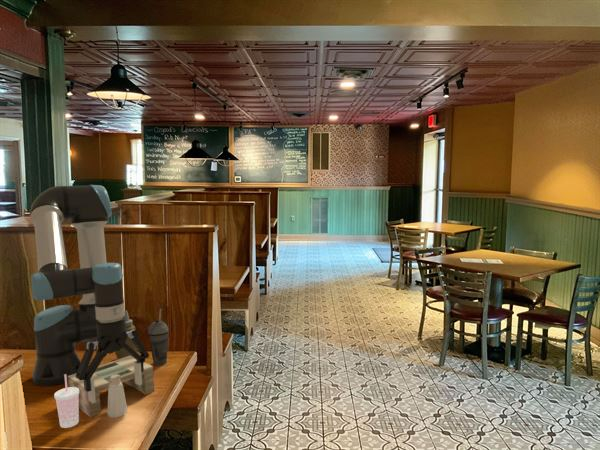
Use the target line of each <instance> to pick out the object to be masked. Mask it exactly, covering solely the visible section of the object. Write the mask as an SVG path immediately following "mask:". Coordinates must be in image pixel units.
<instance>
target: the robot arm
mask: <svg viewBox="0 0 600 450" xmlns="http://www.w3.org/2000/svg"><path fill="white" fill-rule="evenodd" d="M112 215H113V213H112V205H111V200H110V196H109V194H108V191H107V189H106V188H105V187H104V186H103V185H99V184H85V185H83V184H82V185H81V184H79V185H57V186H51V187H50V188H47V189H46V190H44V191H43V192H41V193H39V195H38V196H37V197H35V199H34V200H33V202H32V204H31V207H30V209H29V220H30V223H31V224H32V225H33V226H34V235H35V237H34V238H35V247H36V248H35V249H36V259H37V260H36V262H37V271H38V272H36V273H32V274H31V277H30V283H31V284H30V285H31V293H32V294H31V295H32V298H33V299H34V300H35V301H45V300H46V301H48V300H53V299H59V298H68V297H72V296H73V297H75V296H82V298H81V299H80V301H78V308H73V307H72V306H71V304H70V305H69V304H64V305H62V304H60V305H55V306H53V307H49V308H47V309H44V310H42V311H40V312H38V313H36V315H35V316H34V318H33V331H34V339H35V351H36V360H35V363H34V368H33V372H32V382H33V384H35V385H38V386H42V387H43V386H44V387H45V386H56V385H61V384H65V377H64V374H66V377H67V383H68V376H70V375H73V374H76V378H77V379H79V380H84V389H85V391H87V392H88V398H89V401H90V402H92V403H95V402H96V398H95V386H94V379H93V378H91V377H92V376H93V374H94V373H95V371H96V369H97V368H98V366H100V365H101V363H102V361H103V359H104V358H105V357H107V355H108V354H109V355H110V354H112V353H115V351H120V349H124V350H125V351H126V352H127V353H129V354H130V355H131V356H132V357H133V358H135V359H136V360H137V361H134V374H135V383H136V384H138V385H142V375H141V372H143V371H144V366H143V363H144V362H145V363H146V359H148V358H150V354H149V352H148V351H147V349H146V348H145V345H144V344H143V342H142V341H141V339H140V338H139V335H138V330H136V329H135V330H136V331H135V330H133V329H130V330H129V332H126V321H125V318H124V316H125V311H126V310H125V300H124V299H125V298H124V285H123V278H124V274H123V270H122V265H121V263H118V262H107V251H106V239H105V229H104V228H105V226H106V225H107V224H108V218H110V217H112ZM64 220H66V221H67V220H69V221H70V222H71V224H70V225H71V226H72V227H74V228H75V229H76V235H77V243H78V244H77V246H78V257H79V267H80V268H74V269H69V268H68V263H67V256H66V255H67V254H66V248H65V243H64V242H65V241H64V235H63V228H62V223H63V221H64ZM128 337H129V338H131V340H132V342H133V343H134V345H135V346H136V348H137V353H136V352H135V351H134V350H133V349H132V348H130V346H128V345H127V344H126V343H125V341H126V340H127V338H128ZM95 340H96V341H95ZM83 342H84V343H85V350H84V353H83V355H82V358H81V359H80V357H79V354H78V352H77V351H76V344H79V343H83ZM97 346H98V348H97V350H96V347H97ZM95 350H96V352H95V353H96V354H95V355H94V351H95ZM138 352H139V353H138ZM93 355H94V356H93Z"/></svg>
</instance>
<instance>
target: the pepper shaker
mask: <svg viewBox="0 0 600 450" xmlns="http://www.w3.org/2000/svg"><path fill="white" fill-rule="evenodd" d="M110 383H111V384H110V385H109V388H107V391H108V392H107V394H108V395H107V416H108V417H109V418H114V419H115V418H116V419H117V417H118V418H121V417H124V416H125V415H126V414H127V413H128V412H127V411H128V406H127V400H126V395H125V389H124V388H125V387H124V385H123V382H122V383H121V382H120V375H112V376H111V377H110ZM126 412H127V413H126ZM120 416H121V417H120Z"/></svg>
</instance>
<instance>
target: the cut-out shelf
mask: <svg viewBox="0 0 600 450" xmlns="http://www.w3.org/2000/svg"><path fill="white" fill-rule="evenodd" d="M134 361H137V360H136V359H135V358H133V357H132V356H127V357H124V358H121V359H116V360H113V361H109V362H106V363H104V364H99V366H98V368H97V369H96V371H95V373H94V374H93V376H92V377H91V378H93V379H94V386H95V398H96V402H95V403H92V402H90V401H89V398H88V392H87V391H85V389H84V380H79V379H77V378H76V374H73V375H70V376H68V382H67V387H77V388H79V394H78V399H79V411H82V412H83V413H84V414H85V415H87V416H88V417H90V418H91V417H94V416H96V414H97V415H99V414H101V413H102V411H101V408H102V407H101V398H100V397H101V395H100V392H101V391H104V390H106V389H108V388H109V385H110V384H111V383H110V377H111V376H112V375H120V382H121V383H122V384H123V383H125V384H126V385H127V386H130V387H131V388H133V387H134V389H135V390H137V391H139V392H140V391H141V393H143V394H144V395H148V394H151V393H153V392H155V380H154V379H155V378H154V365H151V364H149V363H147V362H146V361H145V362H144V363H143V366H144V371H143V372H141V375H142V385H138V384H136V383H135V374H134ZM98 413H99V414H98Z"/></svg>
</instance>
